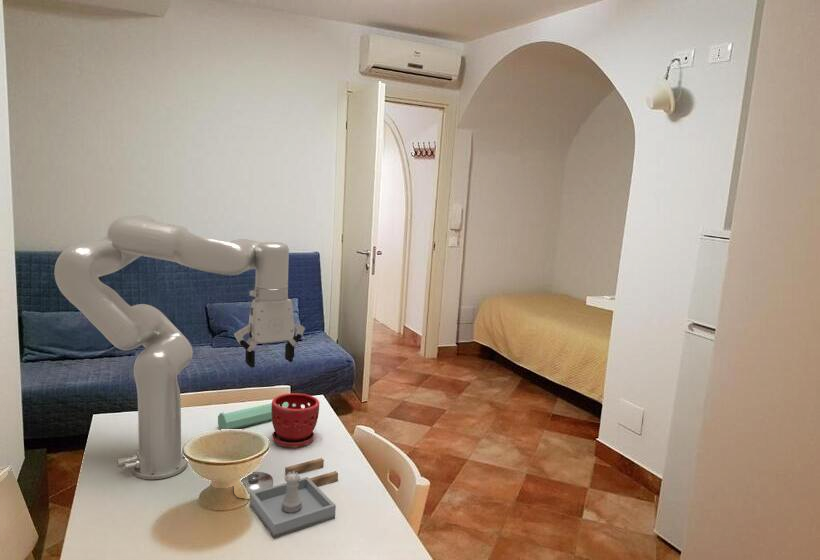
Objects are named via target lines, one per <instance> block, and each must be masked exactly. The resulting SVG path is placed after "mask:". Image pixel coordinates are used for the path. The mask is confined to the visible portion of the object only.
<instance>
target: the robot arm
mask: <svg viewBox="0 0 820 560" xmlns="http://www.w3.org/2000/svg"><path fill="white" fill-rule="evenodd" d="M289 252H290V251H289V246H288V244H286V243H283V242H279V241H277V242H276V241H264V242H263V241H258V240H257V241H256V240H253V239H247V238H240V239H235V240H231V241H225V240H218V239H212V238H208V237H204V236H199V235H196V234H193V232H191V231H190V230H189V229H188V228H186V227H184V226H182V225H177V224H176V225H175V224H171V223H166V222H160V221H157V220H156V219H154V218H152V217H151V216H148V215H141V214H140V215H130V216H129V215H128V216H127V215H126V216H122V217H119V218H117V219H115V220H114V221H113V222H111V224H110V225H109V227H108V230H107V235H106V236H105V237H104V238H102V239H100V240H95V241H89V242H82V243H76V244H73V245H72V246H69V247H67V248H66V249H64V250H63V251H62V252H61V253H60V254H59V256H58V257H57V260H56V262H55V265H54V280H55V283H56V286H57V287H58V289H59V291H60V293H61V294H62V295H63V297H65V298H66V300H68V301H69V303H71V304H72V305H73V306H74V307H75V308H76V309H78V310H79V311H80V313H82V314H83V315H84V316H85V318H87V320H88V321H89V322H90V323H91V324H92V325H93V326H94V327H95V328H96V329H97V330H98V331H99V332H100V333H101V334H102V335H103V336H104V337H105V339H107V340H108V342H110V344H112V345H113V346H114V347H115V348H117V349H119V350H121V351H130V350H134V349H136V348H139V347H141V346H143V347H144V349H143V350H142V351H141V352H140V353H139V354H138V355H137V357H136V359H135V361H134V362H133V363H134V365H133V377H134V381H135V385H136V386H135V387H136V392H137V413H138V414H137V415H138V416H137V417H138V418H137V419H138V421H137V423H138V424H137V425H138V449H136V450H135V454H131V456H128V457H122V458H117V460H116V463H117V467H118V468H121V467H124V469H125V470H129V469H131V470H132V471H131V472H132V475H134V476H135V477H136V478H139V479H143V480H162V479H167V478H170V477H173V476H177V475H178V474H180V473H181V472H183V471H184V470H185V469H186V468H187V467H188V461H189V460H188V461H187V460H186V459H185V457H184V456H183V454H184V453H182V417H181V416H182V409H181V408H182V406H181V405H182V404H181V398H182V397H181V391H180V386H179V382H178V374H180V373H181V372H182V371H183V370H184V369H185V368H186V367H187V366H188V365H190V363H191V361H192V359H193V354H194V351H193V347H192V344H191V343H190V341H189V339H187V338H186V336H185V335H184V334H183V333H182V332H181V331H180V329H178V328H177V327H176V325H174V324H173V323H172V321H170V319H169V318H168V317H167V316H166V315H165V314H164V313H163V312H162V311H161V310H160V309H158V308H156V307H155V306H152V305H150V304H145V303H140V304H139V303H137V304H134V305H130V304H129V303H127V302H126V301H125V300H124V298H123V297H122V296H120V295H119V293H117V291H115V289H113V288H112V287H110V286H109V285H107V284H105V283H104V282H102V281H101V280H100V278H99V277H104V276H106V275H110V274H114V273H116V272H117V271H120V270H121V269H123V268H125V267H127V266H128V265H129V264H131V263H133V262H134V261H136V260H138V259H139V258H140V257H148V258H150V259H151V258H152V259H158V260H162V261H168V262H174V263H177V264H179V265H182V266H184V267H188V268H191V269H194V270H197V271H202V272H206V273H212V274H218V275H223V276H236V275H241V274H243V273H244V272H247V271H250V270H255V281H254V282H255V283H254V284H255V285H254V289H251V290H249V294H248V295H249V297H254V298H253V299H252V301H251V305H250V310H249V315H248V316H249V318H248V324H247V325H245V326H244V327H242V328H240V329H238V330H237V331H236V332H234V333H233V334H234V337H235V339H236V340H237V342H238V344H239V345H240V346H241V347H242V348H244V349H245V363H246V364H247V365H248V367H250V368H251V369H252V368H254V367H255V364H256V361H255V360H256V351H254V349H255V348H256V346H257V345H258V344H259V345H260V344H261V345H262V344H271V343H281V342H286V343H285V347H284V348H285V349H284V351H285V352H284V353H285V354H284V359H285V361H288V362H289V363H293V362H294V357H295V346H296V347H297V345H298V343H299V341H300V340H301V339H302V335H303V334H304V332H305V329H306V327H305V326H303V325H301V324H299V323H297V322H295V319H294V318H295V317H294V311H293V310H294V309H293V303H292V299H291V298H288V297H289V295H288V294H289V261H290V260H289V256H290V253H289ZM295 329H296V332H295ZM247 334H248V339H247V341H246V340H245V339H244V336H245V335H247Z"/></svg>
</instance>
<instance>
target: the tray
mask: <svg viewBox="0 0 820 560" xmlns="http://www.w3.org/2000/svg"><path fill="white" fill-rule="evenodd" d="M286 484H287V482H284V483H281V484H278V485H273V487H269V488H266V489H262V490H258V491H255V492H251V493H250V500H249V506H250V505H251V506H250V507H251V509H252V510H253V512H254V511H255V512H254V513H255V514H256V516H257V515H258V516H257V517H258V519H259V520H260V521H261V522H262V524H263V525H264V527H265V528H266V529H267V531H268V532H269V534H270V535H271V536H272V538H273V539H276V538H280V537H283V536H286V535H289V534H292V533H295V532H298V531H301V530H304V529H306V528H307V529H308V528H310V527H313V526H315V525H318V524H322V523H324V522H328V521H330V520H331V521H332V520H333V519H336V504H335V503H334V502H333V501H332V500H331V499H330V498H329V497H328V496H327V495H326V494H325V493H324V492H323V491H322V490H321V489H320V488H319V486H318V487H317V486H316V485H315V484H314V483H313V482H312V481H311V480H310V479H309V477H308V476H306V477H301V478H300V480H299V481H298V484H299V486H298V494H299V496H300V498H301V500H302V503H301V504H302V507H301V509H300V510H299V511H297V512H294V513H287V512H285V511H284V510H283V509H282V501H283V499H284V497H285V495H286V490H287V487H286Z"/></svg>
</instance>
